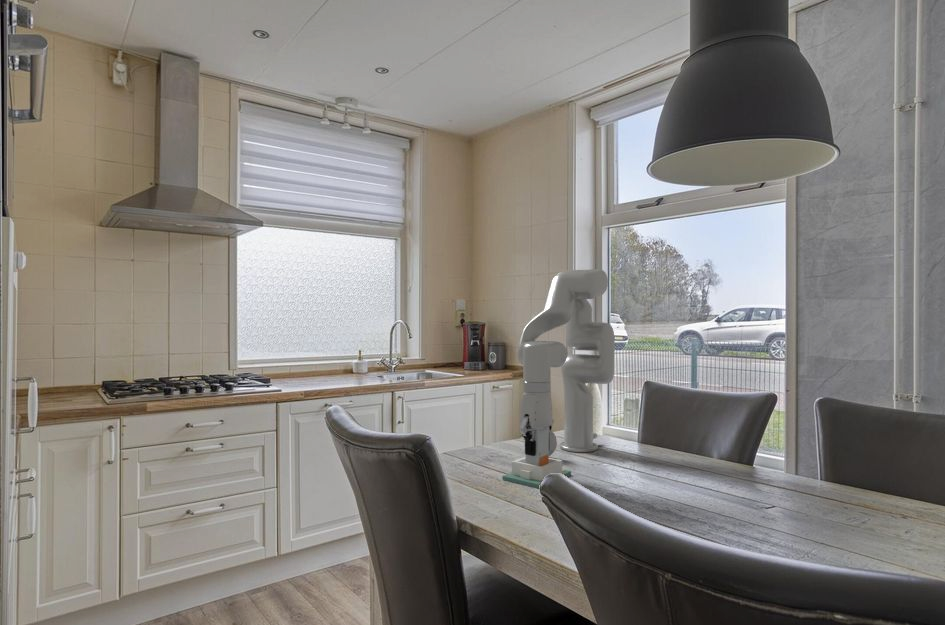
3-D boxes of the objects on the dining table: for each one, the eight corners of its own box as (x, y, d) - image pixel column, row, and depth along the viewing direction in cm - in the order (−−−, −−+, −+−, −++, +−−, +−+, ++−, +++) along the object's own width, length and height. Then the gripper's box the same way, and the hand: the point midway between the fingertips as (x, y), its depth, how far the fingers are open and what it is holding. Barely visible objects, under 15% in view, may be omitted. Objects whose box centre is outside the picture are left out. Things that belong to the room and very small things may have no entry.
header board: (535, 467, 162) (535, 452, 162) (571, 474, 154) (570, 458, 154) (502, 479, 150) (502, 463, 150) (539, 488, 142) (539, 471, 142)
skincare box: (538, 472, 148) (538, 428, 148) (525, 469, 151) (524, 426, 151) (549, 467, 153) (549, 424, 153) (536, 465, 156) (536, 422, 156)
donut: (524, 456, 174) (524, 425, 174) (529, 454, 177) (529, 423, 177) (554, 460, 169) (554, 428, 169) (558, 458, 172) (558, 426, 172)
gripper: (542, 383, 161) (543, 444, 161) (507, 389, 148) (507, 456, 148) (564, 385, 156) (565, 448, 156) (530, 392, 143) (530, 461, 143)
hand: (537, 451), depth 152 cm, fingers closed on skincare box, 6 cm apart
